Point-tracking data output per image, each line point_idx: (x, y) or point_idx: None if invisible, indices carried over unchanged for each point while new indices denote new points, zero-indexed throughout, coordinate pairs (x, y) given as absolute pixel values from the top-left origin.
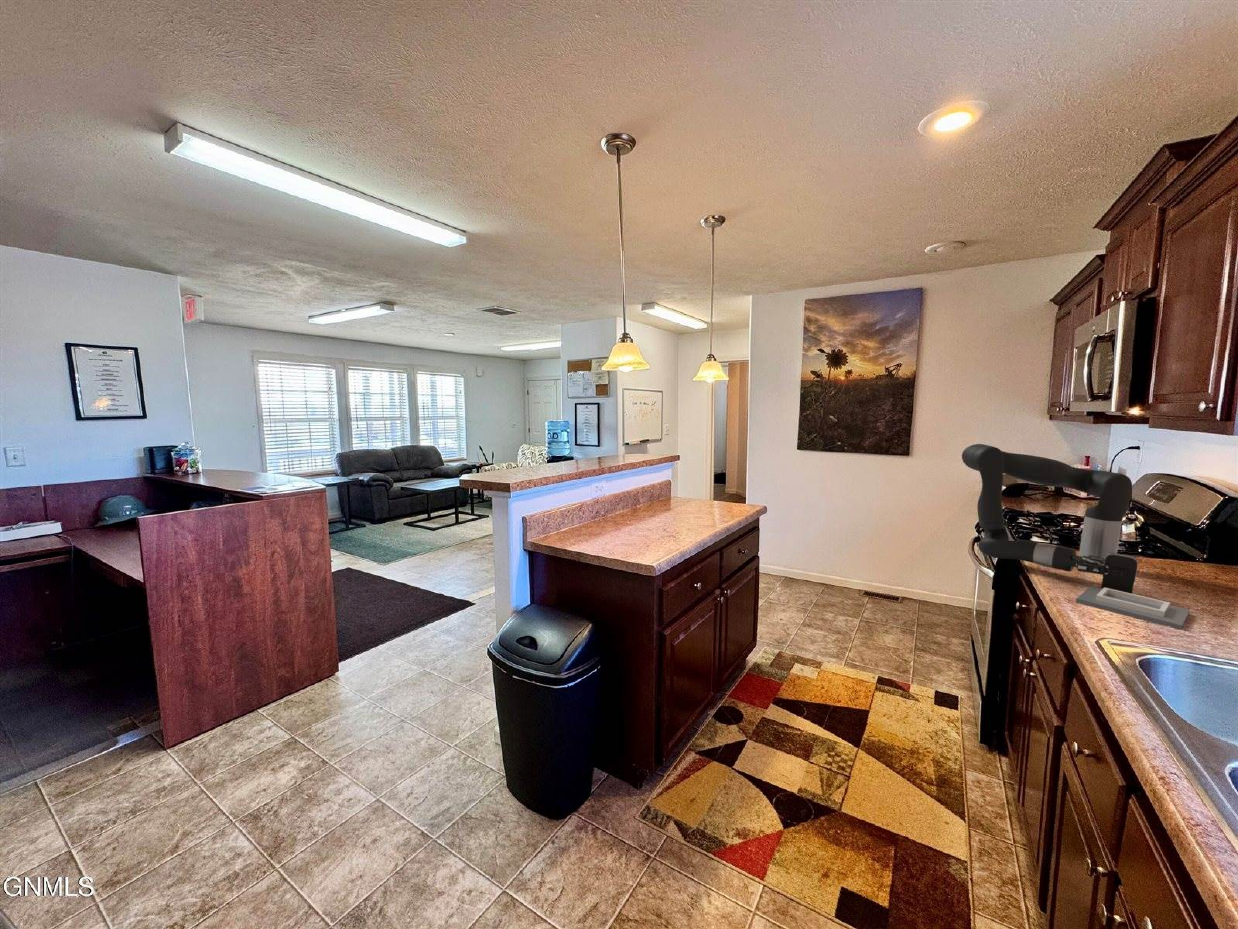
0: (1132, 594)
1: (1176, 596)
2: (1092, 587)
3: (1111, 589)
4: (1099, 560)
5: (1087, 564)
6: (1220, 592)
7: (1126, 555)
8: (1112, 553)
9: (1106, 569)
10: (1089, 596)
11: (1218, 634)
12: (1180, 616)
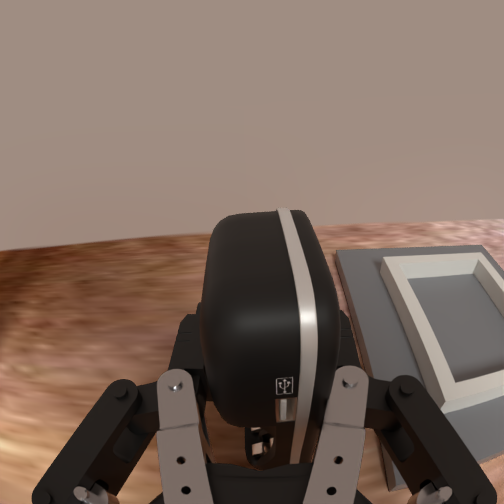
0: (421, 321)
1: (153, 293)
2: None
3: (446, 375)
4: (201, 448)
5: (471, 459)
6: (51, 252)
7: (243, 230)
8: (260, 290)
9: (378, 384)
10: None
11: (424, 228)
12: (427, 252)
